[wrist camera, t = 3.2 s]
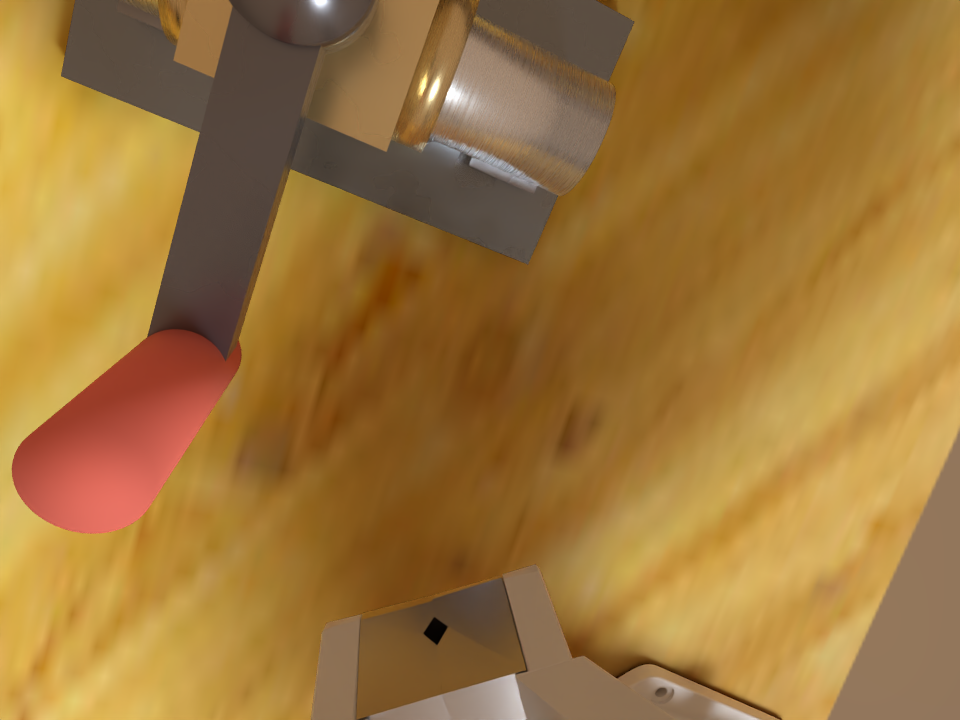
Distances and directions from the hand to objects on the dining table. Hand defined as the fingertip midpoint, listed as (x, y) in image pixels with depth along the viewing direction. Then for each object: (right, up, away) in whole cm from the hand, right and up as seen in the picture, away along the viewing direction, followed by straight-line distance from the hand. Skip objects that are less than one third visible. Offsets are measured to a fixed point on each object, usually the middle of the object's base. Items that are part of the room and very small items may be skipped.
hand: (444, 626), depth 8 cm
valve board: (-5, +17, +16) cm, 24 cm away
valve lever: (-6, +9, +8) cm, 13 cm away
